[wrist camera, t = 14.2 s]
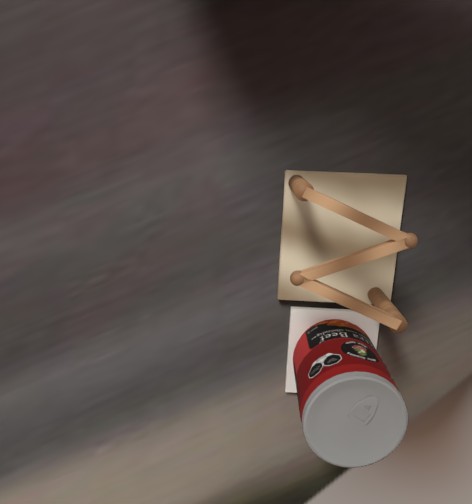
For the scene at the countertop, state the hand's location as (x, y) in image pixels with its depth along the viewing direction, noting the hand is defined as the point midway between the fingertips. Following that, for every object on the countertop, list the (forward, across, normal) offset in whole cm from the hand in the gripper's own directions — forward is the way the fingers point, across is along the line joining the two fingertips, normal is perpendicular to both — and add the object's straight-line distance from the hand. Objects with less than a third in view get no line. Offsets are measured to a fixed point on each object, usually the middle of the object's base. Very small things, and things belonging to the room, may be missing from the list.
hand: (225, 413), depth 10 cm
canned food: (+31, +8, -14) cm, 35 cm away
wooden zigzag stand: (+31, +8, -3) cm, 32 cm away
